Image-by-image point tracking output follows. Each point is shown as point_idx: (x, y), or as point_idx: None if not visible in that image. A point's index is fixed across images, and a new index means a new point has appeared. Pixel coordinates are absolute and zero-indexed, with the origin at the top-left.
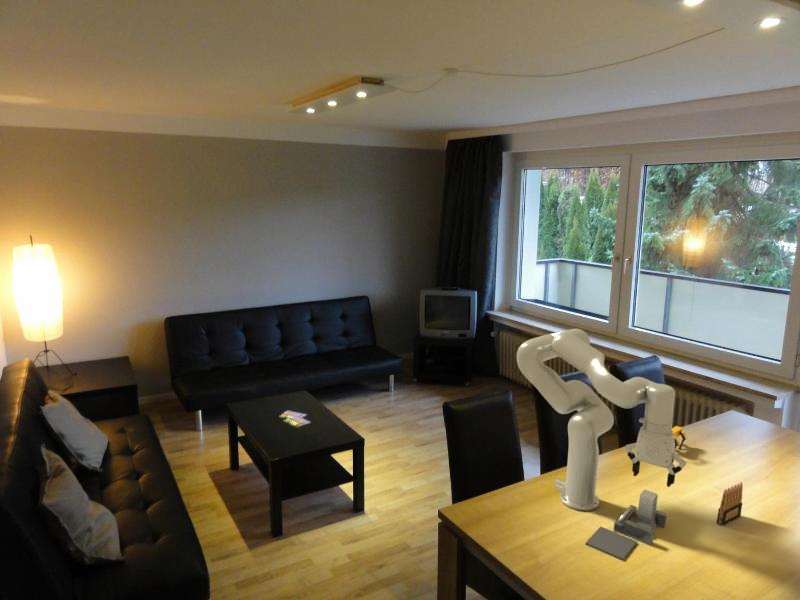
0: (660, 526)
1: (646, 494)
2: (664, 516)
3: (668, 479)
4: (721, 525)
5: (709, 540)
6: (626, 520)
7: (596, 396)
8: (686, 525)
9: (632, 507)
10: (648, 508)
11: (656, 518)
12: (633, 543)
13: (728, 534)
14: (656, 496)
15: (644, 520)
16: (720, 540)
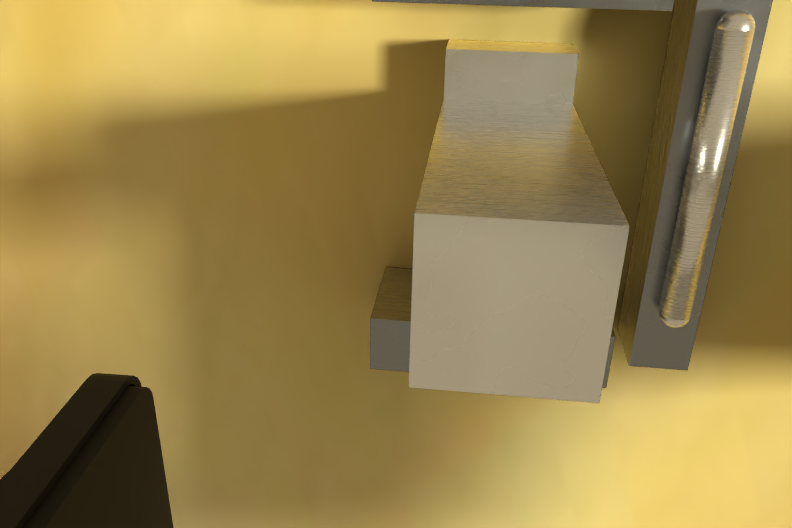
0: (409, 269)
1: (541, 287)
2: (375, 317)
3: (27, 494)
4: None
5: (94, 307)
6: (674, 103)
7: None
8: (271, 393)
9: (664, 311)
10: (477, 163)
11: None
12: None
13: None
14: (411, 330)
15: (504, 118)
16: (48, 349)
